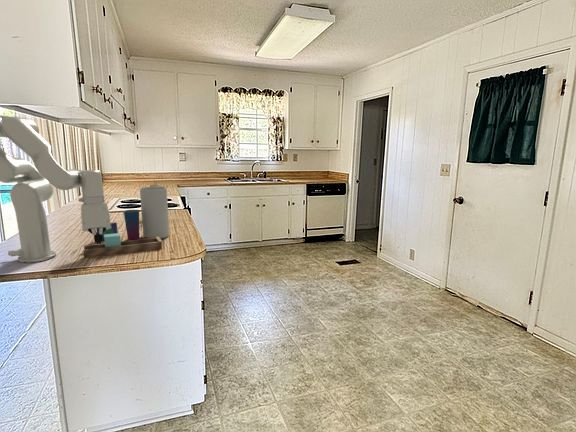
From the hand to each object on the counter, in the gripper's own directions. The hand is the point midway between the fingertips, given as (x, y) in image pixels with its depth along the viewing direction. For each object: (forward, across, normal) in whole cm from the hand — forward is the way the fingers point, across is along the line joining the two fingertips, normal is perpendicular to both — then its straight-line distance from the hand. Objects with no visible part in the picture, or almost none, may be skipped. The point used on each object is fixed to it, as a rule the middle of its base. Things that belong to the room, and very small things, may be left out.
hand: (98, 243), depth 142 cm
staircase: (+6, +32, +68) cm, 76 cm away
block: (+4, +5, 0) cm, 7 cm away
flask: (+6, +3, +23) cm, 24 cm away
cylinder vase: (+6, +25, +22) cm, 34 cm away
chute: (+6, +9, 0) cm, 11 cm away
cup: (+6, +14, +18) cm, 24 cm away
